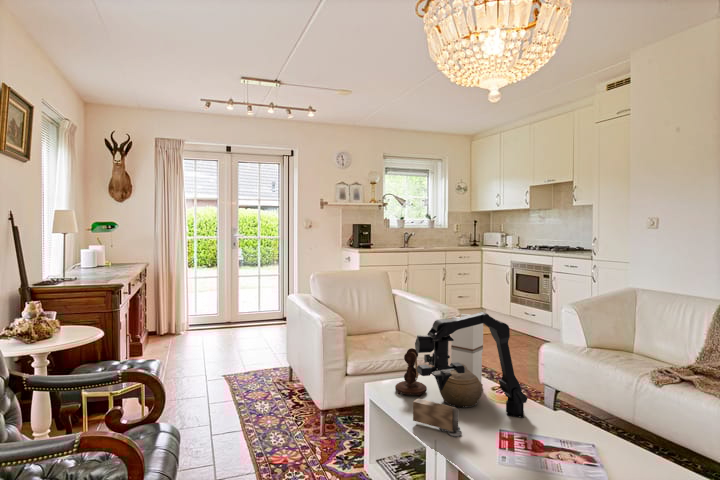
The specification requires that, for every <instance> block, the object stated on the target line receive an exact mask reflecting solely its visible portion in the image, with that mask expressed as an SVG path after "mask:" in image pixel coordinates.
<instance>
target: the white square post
mask: <svg viewBox="0 0 720 480" xmlns="http://www.w3.org/2000/svg"><path fill="white" fill-rule="evenodd" d="M469 315H470V314H467V313H461V314H460V317H458V316H451V319H457V318H461V317H465V316H469ZM450 336H451V338H452V339H454V341H450V345H451V346H450V347H451V348H450V351H451V352H450V364H451V363H457V362H459V363H461V364H464V365H465V366H466V367H467V369H468V370H469V371H470V372H471V373H473V374H474V375H476V376H477V378H478V379H479V381H480V382H481V384H482V389H483V388H484V387H483V382H482V379H483V378H482V377H483V375H482V371H483V370H482V369H483V366H482V365H483V352H484V324H483V323H482V324H478V325H474V326H470V327H466V328H462V329H459V330H456V331H455V332H454V333H452V334H450Z"/></svg>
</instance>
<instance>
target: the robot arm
mask: <svg viewBox="0 0 720 480" xmlns="http://www.w3.org/2000/svg"><path fill="white" fill-rule="evenodd" d="M468 315H469V316H465V317H461V316H460V317H459V318H457V319H452V318H451V319H450V318H449V319H448V318H441V319H440V318H439V319H435V320H434V321H433V323H432V327H431V328H430V330H429V331H428V332H427V334H426V335H421V334H420V335H419V334H418V335H417V336H416V339H415V342H414V349H416V352H417V353H418V354H423V353H424V357H423V359H424V363H428V365H427V364H417V366H418V367H417V372H418V375H419V376H421V377H427V376H431V375H432V376H434V378H435V380H436V385H437V386H438V390H439V392H440V391H441V390H443V388H444V386H445V384H446V382H447V380H448V379H449V377H450V376H452V374H451V373H450V372H451V371H453V370H456V372H457V373H465V367H464V366H463V365H462V364H460V363H459V362H457V363H451V362H450V364H449V359H451V355H449V342H451V341H454V339H452V338H451V334H452V333H454V332H455V331H456V330H459V329H462V328H466V327H470V326H474V325H478V324H482V323H483V325H484V326H487V327H488V328H489V332H490V335H491V337H492V338H493V339H494V341H495V343H496V350H497V354H498V358H499V362H500V368H501V373H502V376H501V378H499V379H498V382H499V389H501V390H502V392H503V393H504V394H505V397H507V400H505V401H506V402H505V413H506V416H508V417H509V416H510V417H517V418H522V419H523V418H524V417H525V416H524V415H525V410H524V404H525V403H527V401H528V396H526V394H524V392H523V390H522V386H521V385H520V382H519V380H518V379H517V377H516V375H515V370H514V366H513V360H512V355H511V352H510V345H509V341H510V337H511V334H510V333H511V331H510V326H509V324H508V323H506V322H504V321H500V320H497V319H495V318H494V317H492V316H491V315H490V314H488V313H487V312H483V311H479V312H478V313H477V312H476V313H474V314H468ZM425 353H427V354H425ZM428 353H429V354H428ZM431 353H432V354H431ZM429 365H431V366H429Z"/></svg>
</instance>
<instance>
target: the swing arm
mask: <svg viewBox="0 0 720 480" xmlns="http://www.w3.org/2000/svg"><path fill="white" fill-rule="evenodd" d="M412 421H414V422H417V423H420V424H424V425H428V426H431V427H435V428H439V429H440V428H442V429H446V430H450V431H452V430H454V431H458V426H459V409H458V408H457V407H455V406H451V405H449V404H448V405H447V404H443V403H440V402H439V403H438V402H434V401H430V400H427V399H422V398H416V399H415V400H413V402H412Z"/></svg>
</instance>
